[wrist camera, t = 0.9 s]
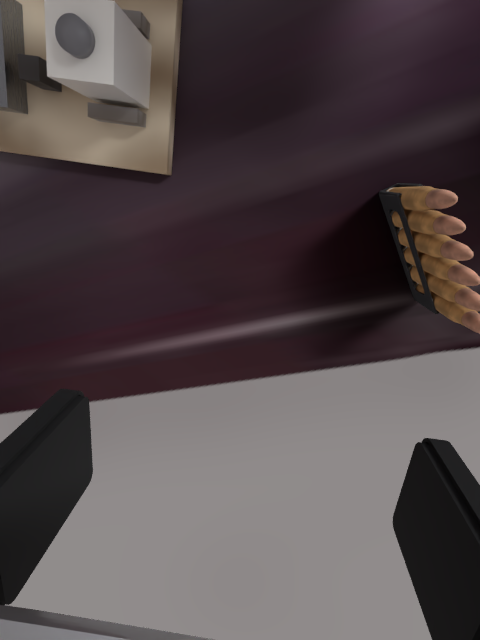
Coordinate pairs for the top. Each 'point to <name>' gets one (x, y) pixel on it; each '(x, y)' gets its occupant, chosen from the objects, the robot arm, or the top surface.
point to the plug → (97, 51)
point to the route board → (93, 117)
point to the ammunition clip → (432, 251)
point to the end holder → (11, 58)
